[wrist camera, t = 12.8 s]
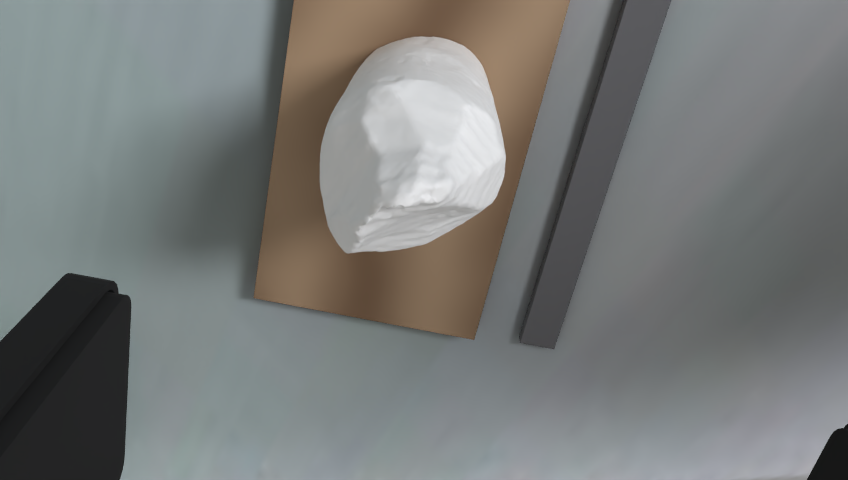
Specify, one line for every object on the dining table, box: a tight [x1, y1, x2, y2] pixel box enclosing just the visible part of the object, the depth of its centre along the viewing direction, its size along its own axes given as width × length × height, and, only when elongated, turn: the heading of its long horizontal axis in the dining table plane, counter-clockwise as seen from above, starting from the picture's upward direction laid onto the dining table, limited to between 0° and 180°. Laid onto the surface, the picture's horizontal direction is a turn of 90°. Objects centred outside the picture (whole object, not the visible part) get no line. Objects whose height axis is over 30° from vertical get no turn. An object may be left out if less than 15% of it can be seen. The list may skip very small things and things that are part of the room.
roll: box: [320, 36, 506, 254], centre depth 25 cm, size 6×12×6 cm
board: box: [254, 0, 570, 340], centre depth 31 cm, size 10×20×1 cm, turn 168°
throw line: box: [519, 0, 671, 349], centre depth 32 cm, size 2×20×1 cm, turn 168°
